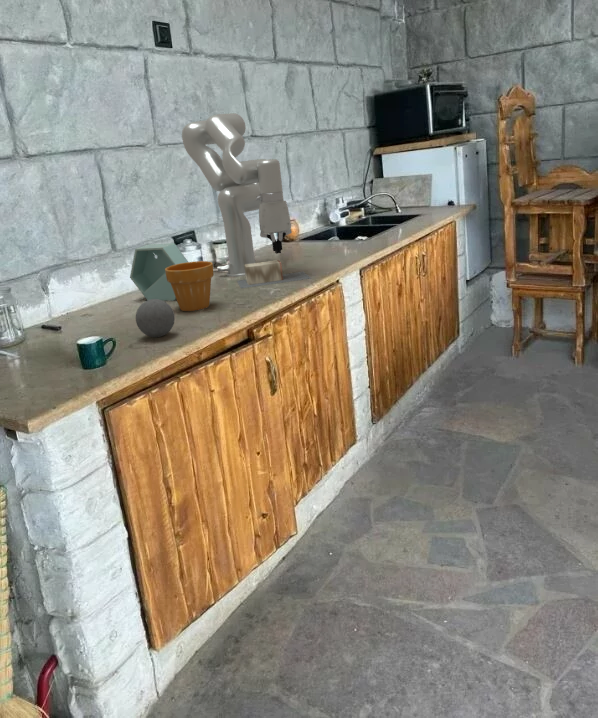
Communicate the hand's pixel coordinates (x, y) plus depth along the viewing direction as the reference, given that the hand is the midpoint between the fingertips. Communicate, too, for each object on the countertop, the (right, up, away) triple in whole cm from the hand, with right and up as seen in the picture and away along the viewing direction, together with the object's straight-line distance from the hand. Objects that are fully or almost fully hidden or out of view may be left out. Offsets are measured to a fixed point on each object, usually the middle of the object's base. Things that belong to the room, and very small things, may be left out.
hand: (278, 252), depth 234 cm
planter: (-37, -16, -6) cm, 41 cm away
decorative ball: (-30, -30, -52) cm, 67 cm away
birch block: (+1, -6, +2) cm, 6 cm away
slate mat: (-2, -9, +2) cm, 10 cm away
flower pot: (-24, -21, -24) cm, 40 cm away
